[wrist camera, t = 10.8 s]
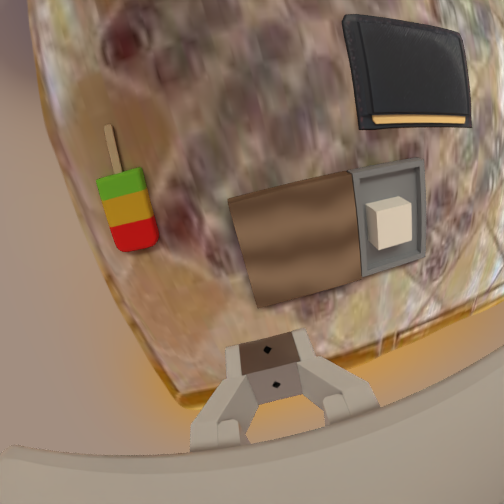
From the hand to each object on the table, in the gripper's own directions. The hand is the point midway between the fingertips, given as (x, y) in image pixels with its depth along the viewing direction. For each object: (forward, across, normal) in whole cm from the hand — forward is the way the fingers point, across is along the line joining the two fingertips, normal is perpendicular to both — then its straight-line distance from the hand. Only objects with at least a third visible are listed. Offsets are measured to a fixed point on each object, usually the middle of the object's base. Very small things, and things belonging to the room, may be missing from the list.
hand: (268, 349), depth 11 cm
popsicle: (+26, +12, -4) cm, 29 cm away
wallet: (+26, -26, -10) cm, 38 cm away
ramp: (+25, -6, +8) cm, 27 cm away
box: (+25, -18, +8) cm, 32 cm away
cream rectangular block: (+25, -17, +8) cm, 31 cm away
